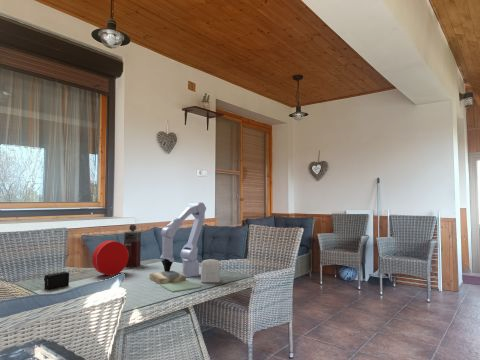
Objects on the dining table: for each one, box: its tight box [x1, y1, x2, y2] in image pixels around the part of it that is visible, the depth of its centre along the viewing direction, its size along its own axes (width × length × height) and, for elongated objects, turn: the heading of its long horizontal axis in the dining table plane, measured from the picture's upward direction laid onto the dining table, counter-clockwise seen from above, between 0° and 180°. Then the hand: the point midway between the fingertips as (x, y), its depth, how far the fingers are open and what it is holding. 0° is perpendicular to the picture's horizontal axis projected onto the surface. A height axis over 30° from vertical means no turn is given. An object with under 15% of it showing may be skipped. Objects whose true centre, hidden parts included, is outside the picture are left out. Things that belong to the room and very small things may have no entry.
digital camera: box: [43, 271, 70, 291], centre depth 177 cm, size 10×5×7 cm, turn 147°
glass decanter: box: [123, 223, 142, 268], centre depth 233 cm, size 9×11×28 cm
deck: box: [148, 270, 187, 286], centre depth 193 cm, size 15×16×3 cm
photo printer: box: [200, 258, 221, 283], centre depth 189 cm, size 10×4×12 cm, turn 94°
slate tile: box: [162, 270, 180, 279], centre depth 189 cm, size 6×9×2 cm, turn 34°
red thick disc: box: [91, 240, 129, 276], centre depth 207 cm, size 20×6×20 cm, turn 136°
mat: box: [159, 279, 202, 293], centre depth 179 cm, size 16×16×1 cm
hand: (167, 272), depth 194 cm, fingers closed
